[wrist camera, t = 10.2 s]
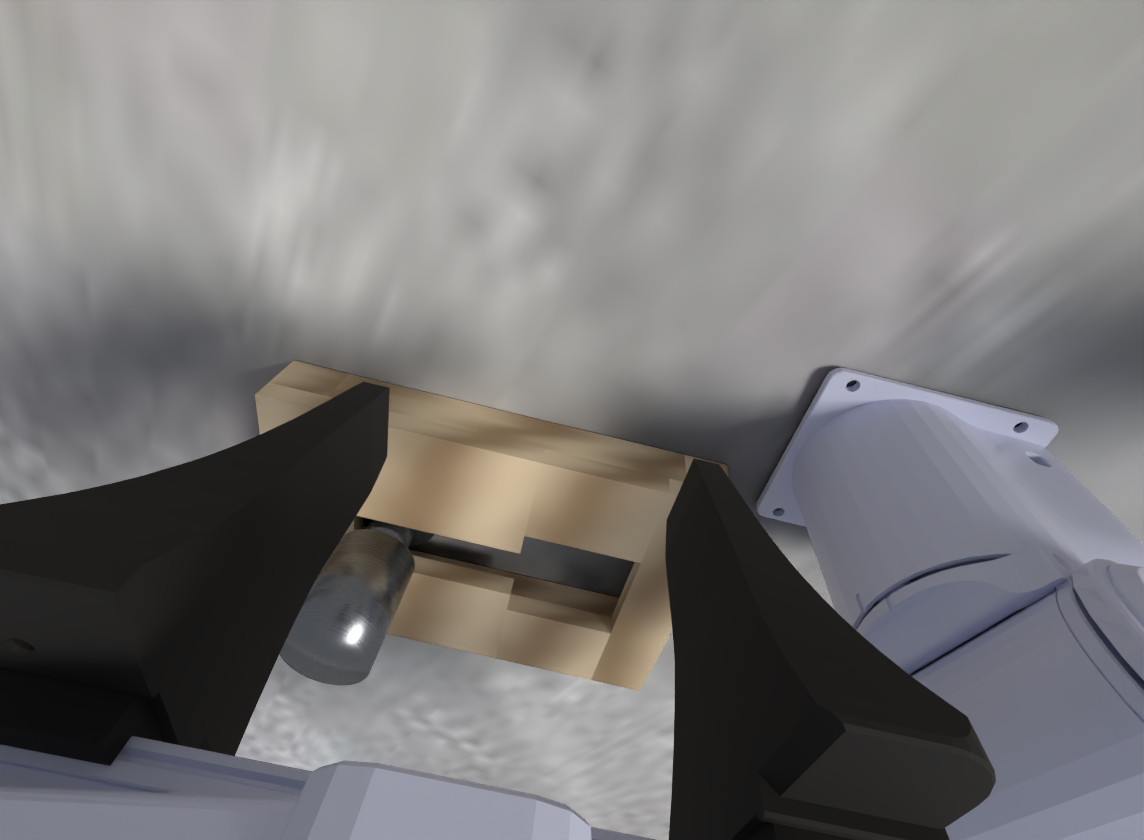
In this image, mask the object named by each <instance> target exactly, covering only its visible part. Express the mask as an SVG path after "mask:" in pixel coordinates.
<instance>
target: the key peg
mask: <svg viewBox="0 0 1144 840" xmlns="http://www.w3.org/2000/svg"><path fill="white" fill-rule="evenodd" d="M363 523H364V524H365V525H366V528H365V529H358V530H354V531H351V532H349V533H347V534H345V535H344V536H343V537H342V539H341V540H340V542H339V544H338V545H337V547H336V548H335V550H334V551H333V553H332V554H331V556H330V558H329V559H328V561H327V562H326V564H325V565H324V567H323V569H322V570H321V572H320V574H319V576H318V577H317V579H316V581H315V582H314V584H313V586H312V588H311V590H310V592H309V594H308V596H307V598H306V600H305V602H304V604H303V606H302V608H301V610H300V612H299V614H298V616H297V618H296V620H295V622H294V624H293V626H292V628H291V630H290V633H289V635H288V637H287V639H286V641H285V643H284V645H283V647H282V649H281V652H280V656H281V657H282V659H283V660H284V661H285V662H286V663H287V664H288V665H289V666H290V667H291V668H292V669H294V670H295V671H297V672H298V673H300V674H302V675H304V676H306V677H308V678H310V679H313V680H316V681H319V682H322V683H326V684H332V685H351V684H355V683H358V682H360V681H362V680H364V679H365V678H366V677H367V676H368V674H369V672H370V670H371V667H372V665H373V663H374V661H375V658H376V656H377V654H378V652H379V649H380V647H381V645H382V643H383V640H384V638H385V636H386V633H387V631H388V629H389V627H390V624H391V622H392V620H393V618H394V615H395V613H396V611H397V609H398V606H399V604H400V602H401V599H402V597H403V595H404V593H405V590H406V588H407V586H408V584H409V581H410V579H411V577H412V574H413V572H414V569H415V561H414V557H413V555H412V553H411V552H410V550H409V549H408V547H409V546H412V545H419V544H422V543H424V542H426V541H428V540H429V539H431V538H432V537H433V535H434V534H433V533H428V532H424V531H420V530H416V529H411V528H407V527H403V526H398V525H394V524H390V523H386V522H381V521H377V520H373V519H368V518H364V517H363Z"/></svg>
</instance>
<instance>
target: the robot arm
mask: <svg viewBox="0 0 1144 840" xmlns="http://www.w3.org/2000/svg"><path fill="white" fill-rule="evenodd" d="M852 380H857V383H856V384H855V385H853V386H851V387H846V385H847V383H848V382H850V381H852ZM389 393H390V388H389V387H385V386H380V385H376V384H372V383H367V382H362V383H360V384H358V385H356V386H354V387H352V388H350V389H348V390H346V391H344V392H343V393H341V394H339V395H337V396H335V397H334V398H332V399H330V400H328V401H326V402H325V403H323V404H321V405H319V406H317V407H315V408H313V409H311V410H309V411H308V412H306V413H304V414H302V415H300V416H298V417H296V418H294V419H292V420H290V421H288V422H286V423H284V424H282V425H280V426H277V427H275V428H273V429H271V430H269V431H267V432H265V433H263V434H260V435H258V436H256V437H254V438H252V439H249V440H247V441H245V442H242V443H240V444H237V445H235V446H232V447H230V448H227V449H225V450H222V451H219V452H217V453H214V454H211V455H208V456H206V457H203V458H200V459H197V460H194V461H191V462H187V463H184V464H181V465H178V466H174V467H171V468H168V469H164V470H161V471H158V472H154V473H151V474H148V475H144V476H140V477H137V478H132V479H128V480H124V481H120V482H116V483H112V484H108V485H103V486H99V487H94V488H90V489H85V490H80V491H75V492H70V493H65V494H60V495H54V496H48V497H42V498H36V499H31V500H25V501H19V502H13V503H7V504H1V505H0V840H655V839H650V838H645V837H640V836H635V835H630V834H624V833H619V832H614V831H609V830H604V829H599V828H594V827H590V825H589V824H588V823H587V822H586V820H585V819H584V818H582V817H581V816H580V815H579V814H577V813H576V812H575V811H574V810H572V809H571V808H570V807H569V806H567V805H565V804H562V803H559V802H556V801H553V800H550V799H547V798H544V797H541V796H538V795H534V794H529V793H524V792H519V791H514V790H509V789H504V788H499V787H494V786H489V785H484V784H479V783H474V782H469V781H464V780H459V779H454V778H449V777H444V776H440V775H435V774H430V773H425V772H420V771H415V770H410V769H405V768H400V767H395V766H390V765H385V764H380V763H369V762H356V761H342V762H338V763H334V764H330V765H327V766H323V767H320V768H318V769H316V770H314V771H307V770H302V769H297V768H292V767H287V766H282V765H277V764H272V763H267V762H262V761H257V760H252V759H247V758H242V757H237V756H235V754H236V751H237V749H238V747H239V744H240V742H241V740H242V737H243V735H244V732H245V730H246V728H247V725H248V723H249V721H250V718H251V716H252V713H253V711H254V709H255V707H256V704H257V702H258V700H259V698H260V695H261V693H262V691H263V689H264V687H265V684H266V682H267V680H268V678H269V675H270V673H271V671H272V669H273V666H274V664H275V662H276V660H277V658H278V656H279V654H280V652H281V649H282V647H283V645H284V643H285V641H286V639H287V637H288V635H289V633H290V630H291V628H292V626H293V624H294V622H295V620H296V618H297V616H298V614H299V612H300V610H301V608H302V606H303V604H304V602H305V600H306V598H307V596H308V594H309V592H310V590H311V588H312V586H313V584H314V582H315V581H316V579H317V577H318V576H319V574H320V572H321V570H322V569H323V567H324V565H325V564H326V562H327V561H328V559H329V558H330V556H331V554H332V553H333V551H334V550H335V548H336V547H337V545H338V544H339V542H340V540H341V539H342V537H343V536H344V534H345V533H346V531H347V530H348V528H349V526H350V525H351V523H352V522H353V520H354V519H355V517H356V515H357V514H358V512H359V511H360V509H361V508H362V506H363V504H364V503H365V501H366V500H367V498H368V496H369V495H370V493H371V491H372V489H373V487H374V485H375V483H376V481H377V479H378V476H379V474H380V472H381V470H382V467H383V465H384V463H385V461H386V458H387V450H388V421H389ZM1021 422H1022V424H1021V425H1019V426H1018V427H1015V428H1014V426H1015V425H1017V424H1018V423H1021ZM1057 433H1058V426H1057V425H1056V424H1055V423H1054V422H1053V421H1052V420H1050V419H1047V418H1043V417H1039V416H1035V415H1031V414H1027V413H1023V412H1019V411H1015V410H1011V409H1007V408H1003V407H999V406H995V405H991V404H987V403H983V402H979V401H975V400H971V399H967V398H963V397H959V396H955V395H951V394H947V393H943V392H939V391H935V390H931V389H927V388H923V387H919V386H915V385H911V384H907V383H903V382H899V381H895V380H891V379H887V378H883V377H879V376H875V375H871V374H867V373H863V372H859V371H855V370H851V369H847V368H836V369H833V370H832V371H830V372H829V373H828V374H827V376H826V377H825V379H824V381H823V383H822V385H821V387H820V388H819V390H818V392H817V394H816V396H815V397H814V399H813V401H812V403H811V405H810V407H809V408H808V410H807V412H806V414H805V416H804V417H803V419H802V421H801V423H800V425H799V426H798V428H797V430H796V432H795V434H794V436H793V437H792V439H791V441H790V443H789V445H788V446H787V448H786V450H785V452H784V454H783V455H782V457H781V459H780V461H779V463H778V465H777V466H776V468H775V470H774V472H773V474H772V475H771V477H770V479H769V481H768V483H767V485H766V486H765V488H764V490H763V492H762V494H761V495H760V497H759V499H758V501H757V503H756V508H757V512H758V514H759V515H761V516H763V517H767V518H771V519H775V520H779V521H784V522H788V523H792V524H796V525H800V526H804V527H806V528H807V531H808V533H809V536H810V539H811V542H812V545H813V548H814V551H815V554H816V556H817V559H818V562H819V565H820V568H821V571H822V574H823V576H824V579H825V582H826V585H827V588H828V591H829V594H830V597H831V599H832V602H833V605H834V608H835V610H834V609H833V608H832V607H831V606H830V605H829V604H828V603H827V602H826V601H825V600H824V599H823V598H822V597H821V596H820V595H819V594H818V593H817V592H816V591H815V590H814V589H813V587H812V586H811V585H810V584H809V583H808V582H807V581H806V580H805V579H804V578H803V577H802V576H801V574H800V573H799V572H798V571H797V570H796V569H795V568H794V566H793V565H792V564H791V563H790V562H789V560H788V559H787V558H786V557H785V555H784V554H783V553H782V552H781V550H780V549H779V548H778V547H777V546H776V544H775V543H774V542H773V540H772V539H771V538H770V536H769V535H768V534H767V532H766V531H765V530H764V528H763V527H762V526H761V524H760V523H759V521H758V520H757V519H756V517H755V516H754V514H753V513H752V512H751V510H750V509H749V507H748V506H747V504H746V503H745V501H744V500H743V498H742V497H741V496H740V494H739V493H738V491H737V490H736V488H735V487H734V485H733V484H732V482H731V481H730V479H729V478H728V476H727V475H726V473H725V472H724V470H723V469H722V468H721V466H720V465H719V464H717V463H713V462H708V461H704V460H700V459H695V458H694V459H693V461H692V463H691V466H690V468H689V470H688V472H687V475H686V477H685V479H684V481H683V484H682V486H681V488H680V491H679V493H678V495H677V497H676V500H675V502H674V504H673V507H672V509H671V511H670V513H669V516H668V518H667V523H666V548H665V560H666V571H667V582H668V592H669V602H670V611H671V621H672V630H673V640H674V654H675V720H674V756H673V778H672V800H671V815H670V830H669V840H1144V543H1143V542H1142V541H1141V540H1140V539H1139V538H1138V537H1137V536H1136V535H1135V534H1134V533H1133V532H1132V531H1131V530H1130V529H1129V528H1128V527H1127V526H1125V525H1124V524H1123V523H1122V522H1121V521H1120V520H1119V519H1118V518H1117V517H1116V516H1115V515H1114V514H1113V513H1112V512H1111V511H1110V510H1109V509H1108V508H1107V507H1106V506H1105V505H1104V504H1103V503H1102V502H1101V501H1100V500H1099V499H1098V498H1097V497H1096V496H1095V495H1094V494H1093V493H1092V492H1091V491H1090V490H1088V489H1087V488H1086V487H1085V486H1084V485H1083V484H1082V483H1081V482H1080V481H1079V480H1078V479H1077V478H1076V477H1075V476H1074V475H1073V474H1072V473H1071V472H1070V471H1069V470H1068V469H1067V468H1066V467H1065V466H1064V465H1063V464H1062V463H1061V462H1060V461H1059V460H1058V459H1057V458H1056V457H1055V456H1054V455H1052V454H1051V453H1050V452H1049V451H1048V450H1047V449H1046V448H1045V447H1046V446H1047V445H1048V444H1049V443H1050V442H1051V441H1052V439H1053V438H1054V437H1055V436H1056V434H1057ZM777 508H782V509H781V510H778V511H774V510H775V509H777Z"/></svg>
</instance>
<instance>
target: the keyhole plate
mask: <svg viewBox="0 0 1144 840" xmlns="http://www.w3.org/2000/svg"><path fill="white" fill-rule="evenodd" d="M362 382H367V383H372V384H376V385H380V386H385V387H389V388H390V393H389V421H388V450H387V458H386V461H385V463H384V465H383V467H382V470H381V472H380V474H379V476H378V479H377V481H376V483H375V485H374V487H373V489H372V491H371V493H370V495H369V496H368V498H367V500H366V501H365V503H364V504H363V506H362V508H361V509H360V511H359V512H358V514H357V515H356V517H355V519H354V520H353V522H352V523H351V525H350V526H349V528H348V530H347V531H346V533H345V534H347V533H349V532H351V531H354V530H358V529H363V517H364V518H368V519H373V520H377V521H381V522H386V523H390V524H394V525H398V526H403V527H407V528H411V529H416V530H420V531H424V532H428V533H433V534H437V535H441V536H446V537H450V538H454V539H458V540H463V541H467V542H471V543H476V544H480V545H484V546H488V547H493V548H497V549H501V550H506V551H510V552H514V553H518V554H520V553H521V549H522V545H523V540H524V536H527V537H531V538H535V539H539V540H544V541H548V542H552V543H556V544H561V545H565V546H569V547H574V548H578V549H582V550H586V551H591V552H595V553H599V554H603V555H608V556H612V557H616V558H620V559H625V560H629V561H633V562H634V564H633V567H632V569H631V572H630V574H629V576H628V579H627V581H626V584H625V586H624V588H623V591H622V593H621V596H620V598H617V597H613V596H609V595H605V594H600V593H596V592H592V591H587V590H583V589H579V588H574V587H570V586H566V585H561V584H557V583H553V582H548V581H544V580H540V579H536V578H531V577H527V576H523V575H518V574H514V573H510V572H505V571H501V570H497V569H492V568H488V567H484V566H479V565H475V564H471V563H467V562H462V561H458V560H454V559H449V558H445V557H441V556H436V555H432V554H428V553H423V552H419V551H415V550H410V549H409V550H410V552H411V553H412V555H413V557H414V561H415V569H414V572H413V574H412V577H411V579H410V581H409V584H408V586H407V588H406V590H405V593H404V595H403V597H402V599H401V602H400V604H399V606H398V609H397V611H396V613H395V615H394V618H393V620H392V622H391V624H390V627H389V629H388V631H387V633H386V634H391V635H395V636H400V637H404V638H409V639H413V640H417V641H422V642H426V643H431V644H435V645H439V646H444V647H448V648H453V649H457V650H462V651H466V652H470V653H475V654H479V655H484V656H488V657H492V658H497V659H501V660H506V661H510V662H515V663H519V664H523V665H528V666H532V667H537V668H541V669H545V670H550V671H554V672H559V673H563V674H567V675H572V676H576V677H581V678H585V679H590V680H594V681H598V682H603V683H607V684H612V685H616V686H620V687H625V688H629V689H634V690H638V691H640V690H641V689H642V687H643V685H644V683H645V681H646V679H647V677H648V675H649V673H650V672H651V670H652V668H653V666H654V664H655V662H656V660H657V658H658V656H659V654H660V653H661V651H662V649H663V647H664V645H665V643H666V641H667V639H668V637H669V636H670V634H671V632H672V621H671V611H670V602H669V592H668V582H667V571H666V560H665V548H666V523H667V518H668V516H669V513H670V511H671V509H672V507H673V504H674V502H675V500H676V497H677V495H678V493H679V491H680V488H681V486H682V484H683V481H684V479H685V477H686V475H687V472H688V470H689V468H690V466H691V463H692V461H693V459H694V458H695V459H700V458H696V457H692V456H688V455H684V454H680V453H675V452H671V451H667V450H663V449H659V448H655V447H651V446H646V445H642V444H638V443H634V442H630V441H626V440H622V439H617V438H613V437H609V436H605V435H601V434H597V433H593V432H588V431H584V430H580V429H576V428H572V427H568V426H564V425H559V424H555V423H551V422H547V421H543V420H539V419H535V418H530V417H526V416H522V415H518V414H514V413H510V412H506V411H502V410H497V409H493V408H489V407H485V406H481V405H477V404H473V403H468V402H464V401H460V400H456V399H452V398H448V397H444V396H439V395H435V394H431V393H427V392H423V391H419V390H415V389H410V388H406V387H402V386H398V385H394V384H390V383H386V382H381V381H377V380H373V379H369V378H365V377H361V376H357V375H352V374H348V373H344V372H340V371H336V370H332V369H328V368H323V367H319V366H315V365H311V364H307V363H303V362H299V361H292V362H291V363H290V364H289V365H288V366H287V367H286V368H285V369H283V370H282V371H281V372H280V373H279V374H278V375H277V376H275V377H274V378H273V379H272V380H271V381H270V382H269V383H267V384H266V385H265V386H264V387H263V388H262V389H261V390H259V391H258V392H257V393H256V394H255V401H256V409H257V416H258V424H259V432H260V434H263V433H265V432H267V431H269V430H271V429H273V428H275V427H277V426H280V425H282V424H284V423H286V422H288V421H290V420H292V419H294V418H296V417H298V416H300V415H302V414H304V413H306V412H308V411H309V410H311V409H313V408H315V407H317V406H319V405H321V404H323V403H325V402H326V401H328V400H330V399H332V398H334V397H335V396H337V395H339V394H341V393H343V392H344V391H346V390H348V389H350V388H352V387H354V386H356V385H358V384H360V383H362ZM700 460H704V459H700ZM704 461H708V462H713V461H709V460H704ZM713 463H717V462H713ZM717 464H719V465H720V466H721V468H722V469H723V470H724V472H725V473H726V475H727V476H728V478H729V474H728V469H727V465H725V464H721V463H717ZM729 479H730V478H729ZM345 534H344V535H345Z"/></svg>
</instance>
